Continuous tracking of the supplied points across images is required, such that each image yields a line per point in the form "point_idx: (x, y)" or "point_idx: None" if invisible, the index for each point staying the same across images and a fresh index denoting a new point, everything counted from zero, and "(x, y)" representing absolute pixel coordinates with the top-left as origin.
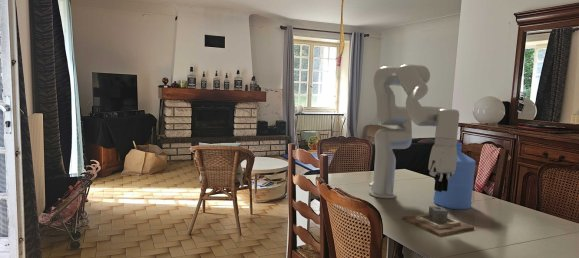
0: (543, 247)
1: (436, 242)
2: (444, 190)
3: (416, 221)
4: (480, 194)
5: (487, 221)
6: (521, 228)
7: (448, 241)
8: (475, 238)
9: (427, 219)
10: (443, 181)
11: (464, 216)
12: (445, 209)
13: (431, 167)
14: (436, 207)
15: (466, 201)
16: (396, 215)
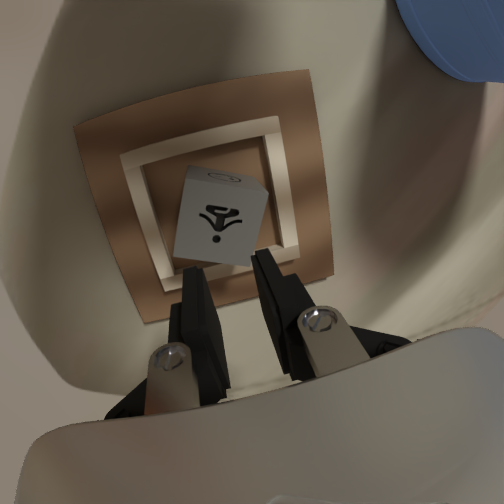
0: None
1: (112, 351)
2: (261, 305)
3: (106, 197)
4: None
5: (437, 202)
6: (462, 267)
7: None
8: (267, 336)
9: (179, 172)
10: (278, 342)
11: (408, 135)
12: (254, 241)
13: (74, 490)
14: (220, 203)
15: (482, 80)
16: (75, 76)
